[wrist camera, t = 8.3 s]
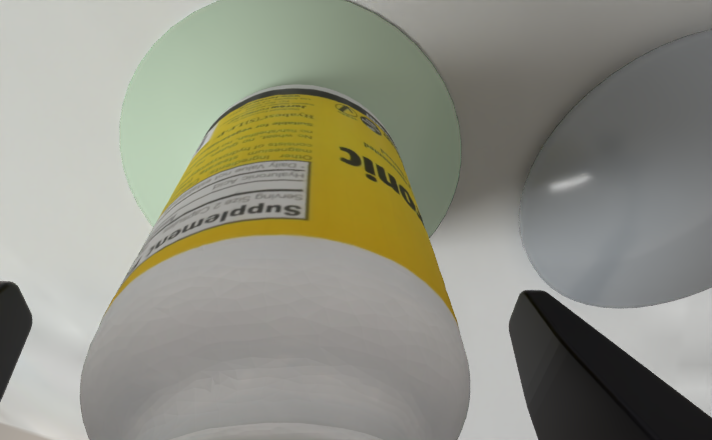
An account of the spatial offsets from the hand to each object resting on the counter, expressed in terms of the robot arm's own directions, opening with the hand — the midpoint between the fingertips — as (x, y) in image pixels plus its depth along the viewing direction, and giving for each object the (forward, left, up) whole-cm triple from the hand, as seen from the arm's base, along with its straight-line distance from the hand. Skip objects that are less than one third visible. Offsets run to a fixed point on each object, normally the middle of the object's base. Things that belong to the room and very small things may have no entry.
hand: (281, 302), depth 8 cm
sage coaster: (0, 0, -6) cm, 6 cm away
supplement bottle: (0, 0, -5) cm, 5 cm away
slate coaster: (0, -11, -5) cm, 12 cm away
